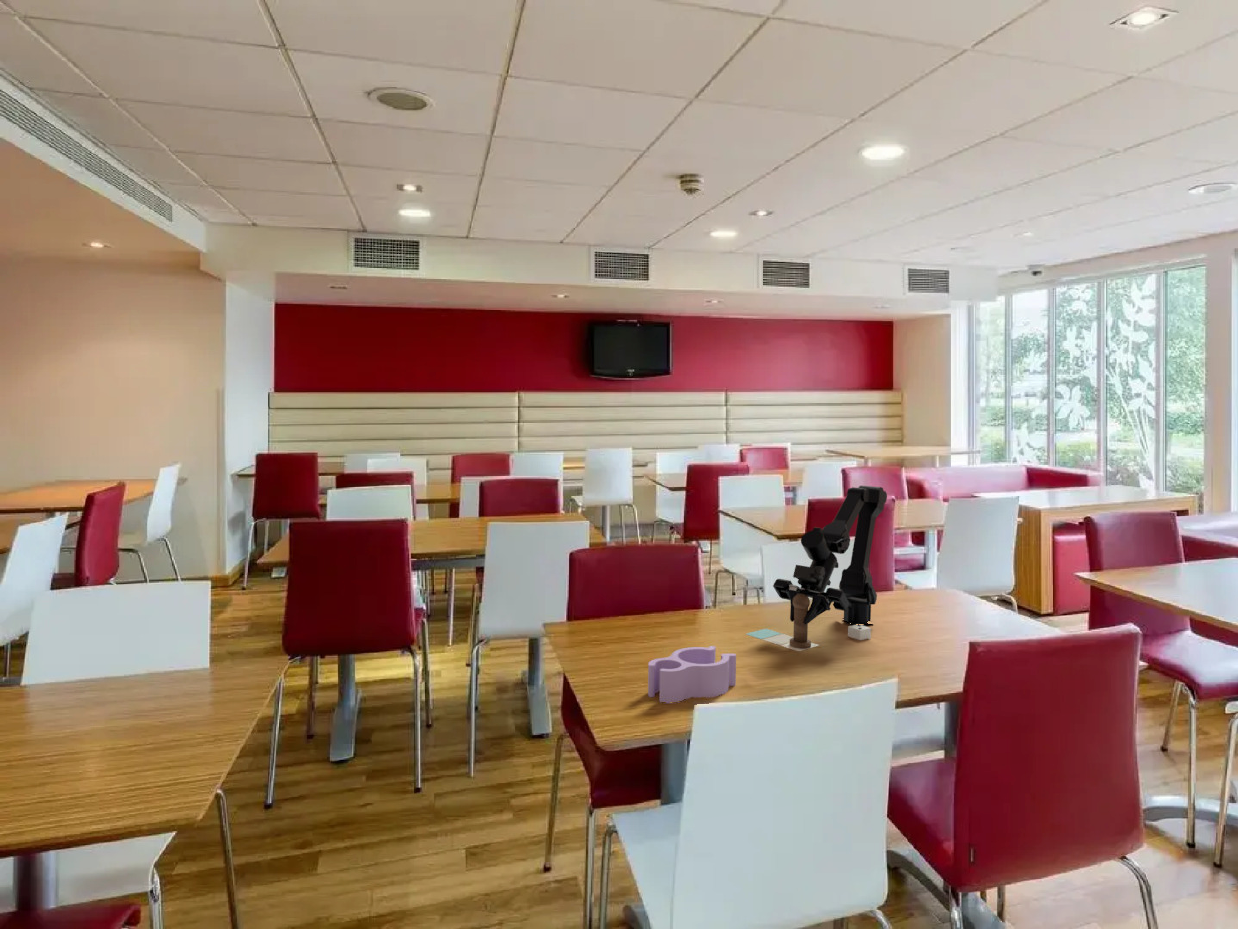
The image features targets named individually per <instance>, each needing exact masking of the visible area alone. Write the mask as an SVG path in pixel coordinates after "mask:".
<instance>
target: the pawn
mask: <svg viewBox="0 0 1238 929" xmlns="http://www.w3.org/2000/svg"><path fill="white" fill-rule="evenodd" d="M793 606H794V621H793V636H792V637H793V638H791V639H790V646H792V647H794V648H800V649H806V648H809V649H811V648H810V647H811V643H812V640H811V639H809V638H808V630H809V629H808V628H809V626H808V624H809V623H808V624H807V625H805V624H804V619H805V616H806V614H807V612H808V610H809V608H810V606H811V600H810V597H807V596H806V595H805V594H797V595H796V596H795V597H794V598H793ZM806 650H807V649H806Z"/></svg>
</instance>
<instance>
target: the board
mask: <svg viewBox="0 0 1238 929" xmlns="http://www.w3.org/2000/svg"><path fill="white" fill-rule="evenodd" d="M746 635H747V636H750V637H754V638H755V639H760V640H762V641H766V642H768V643H772V644H775V645H777V646H780V647H784V648H787V649H791V650H792V651H796V652H802V651H805V650H806V651H807V650H808V649H811V648H815V647H818V646H820V645H819V644H817V643H813V642H811V647H810V648H806V649H800V648H794V647H792V646H790V639H791V638H793V636H791V635H788V634H784V633H780V632H778V631H775V630H772V629H768V628H763V629H759V630H754V631H751V632H746Z"/></svg>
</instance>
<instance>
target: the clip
mask: <svg viewBox="0 0 1238 929" xmlns="http://www.w3.org/2000/svg"><path fill="white" fill-rule="evenodd" d="M647 667H648V674H647V676H648V678H647V679H648V680H647V681H648V682H647V684H648V686H647V687H648V688H647V689H648V690H647V691H648V692H647V695H648V697H649V698H654V697H655V695H656V694H657V693H658V692H659V691H660V692H659V700H658V702H659V701H660V702H659V703H661V702H666V703H665V704H671V703H670V702H678V701H682V700H684V699H686V700H688V699H690V698H691V697H693V698H701V697H706V698H715V697H720V696H722V695H724V694H727V692H728V691H729V689H730V688H729V687H732V686H733V687H734V686H736V684H737V683H736V680H737V679H736V677H737V654H736V653H721V654H720V660H718V661H716V646H715V645H710V646H709V647H705V646H704V647H703V646H702V647H701V646H700V647H699V646H698V647H697V646H696V647H695V646H694V647H693V646H691V647H689V646H688V647H684V648H679V649H677V650H675V651H673V652H672V653H671V655H670V656H668V657H667V656H665V657H658V658H655V659H652V660H650V661H648V666H647ZM655 693H656V694H655ZM721 694H722V695H721ZM719 695H720V696H719ZM691 699H692V698H691ZM684 701H685V700H684ZM682 702H683V701H682ZM678 703H679V702H678Z"/></svg>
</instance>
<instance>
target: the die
mask: <svg viewBox="0 0 1238 929" xmlns="http://www.w3.org/2000/svg"><path fill="white" fill-rule="evenodd" d="M871 635H872V628H871V627H869V626H867V625H859V624H858V625H849V626H847V636H848V637H850V638H852V639H855V640H858V641H863V640H867V639H868V640H871V638H872V636H871Z"/></svg>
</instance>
